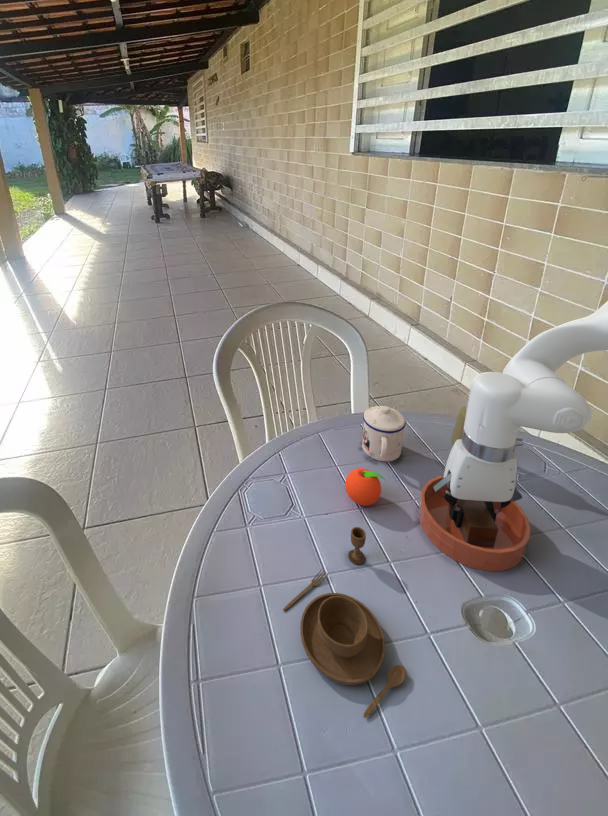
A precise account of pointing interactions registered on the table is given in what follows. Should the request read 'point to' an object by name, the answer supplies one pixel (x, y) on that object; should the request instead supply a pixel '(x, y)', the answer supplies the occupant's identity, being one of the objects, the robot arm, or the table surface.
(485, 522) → the eraser
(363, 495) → the clementine
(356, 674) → the place setting
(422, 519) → the bowl
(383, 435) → the teacup with lid
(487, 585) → the table surface
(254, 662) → the table surface
